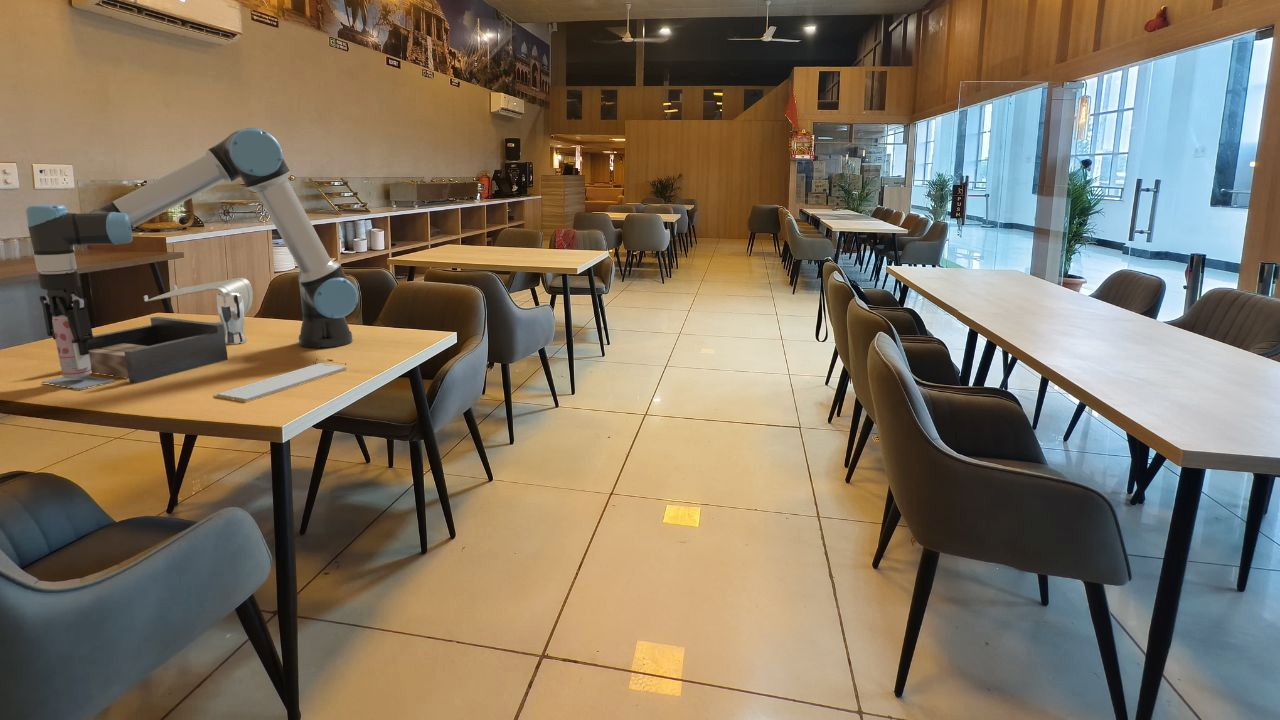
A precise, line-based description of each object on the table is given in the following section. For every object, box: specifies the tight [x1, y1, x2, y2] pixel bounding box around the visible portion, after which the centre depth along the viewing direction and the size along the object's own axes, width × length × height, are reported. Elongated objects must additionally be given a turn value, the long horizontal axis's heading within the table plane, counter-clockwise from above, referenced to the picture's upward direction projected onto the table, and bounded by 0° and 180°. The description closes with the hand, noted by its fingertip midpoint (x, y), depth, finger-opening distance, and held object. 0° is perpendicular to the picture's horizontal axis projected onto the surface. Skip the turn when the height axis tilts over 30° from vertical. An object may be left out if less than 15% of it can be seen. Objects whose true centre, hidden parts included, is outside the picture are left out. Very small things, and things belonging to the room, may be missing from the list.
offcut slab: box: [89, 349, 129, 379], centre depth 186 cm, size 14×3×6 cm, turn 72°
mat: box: [41, 375, 115, 389], centre depth 178 cm, size 14×8×1 cm, turn 69°
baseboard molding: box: [213, 358, 348, 402], centre depth 181 cm, size 31×3×12 cm
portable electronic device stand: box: [143, 277, 254, 324], centre depth 237 cm, size 26×24×16 cm
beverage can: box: [52, 315, 92, 378], centre depth 176 cm, size 6×6×15 cm
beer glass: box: [216, 292, 247, 345], centre depth 220 cm, size 7×7×15 cm
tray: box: [87, 316, 229, 385], centre depth 193 cm, size 26×26×10 cm
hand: (75, 366), depth 177 cm, fingers closed on beverage can, 6 cm apart
